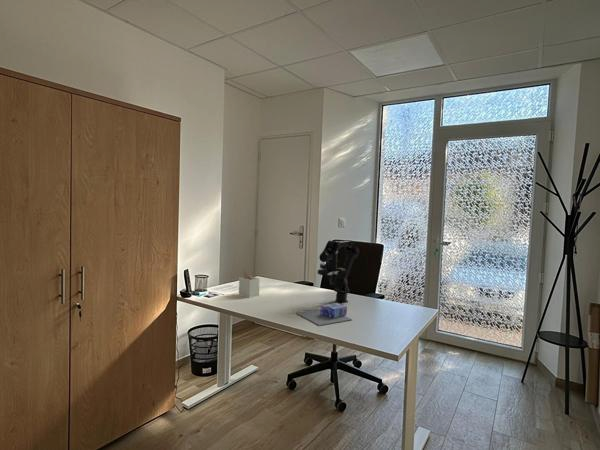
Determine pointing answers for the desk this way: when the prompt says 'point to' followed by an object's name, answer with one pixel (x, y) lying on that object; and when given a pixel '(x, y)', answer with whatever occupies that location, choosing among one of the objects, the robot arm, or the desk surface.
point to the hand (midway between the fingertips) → (331, 284)
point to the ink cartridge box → (333, 310)
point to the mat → (321, 317)
